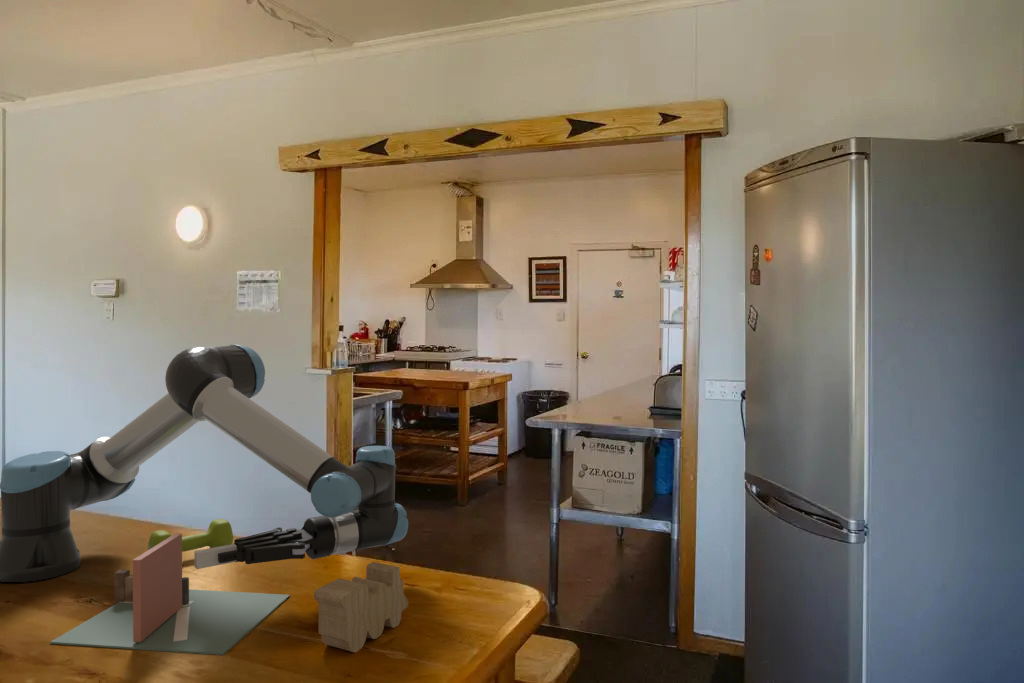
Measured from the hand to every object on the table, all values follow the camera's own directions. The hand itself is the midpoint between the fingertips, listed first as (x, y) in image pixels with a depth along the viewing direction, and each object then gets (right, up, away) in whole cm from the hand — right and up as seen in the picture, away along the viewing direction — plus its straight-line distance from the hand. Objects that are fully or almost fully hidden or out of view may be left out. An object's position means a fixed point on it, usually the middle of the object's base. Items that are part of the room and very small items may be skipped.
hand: (195, 560), depth 118 cm
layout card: (-4, -11, +3) cm, 12 cm away
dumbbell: (-16, -11, +34) cm, 39 cm away
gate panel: (-6, -10, 0) cm, 12 cm away
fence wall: (-12, -11, +9) cm, 19 cm away
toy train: (+29, -12, -3) cm, 31 cm away
